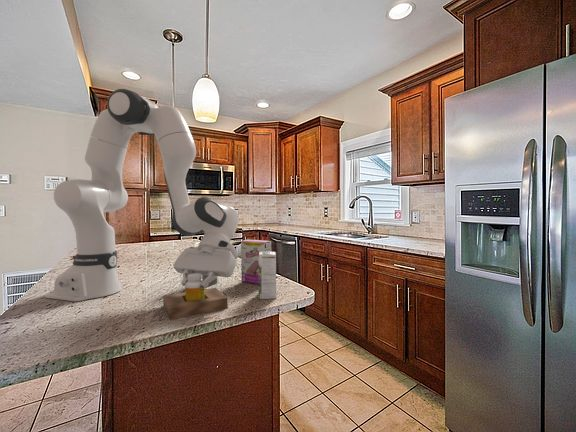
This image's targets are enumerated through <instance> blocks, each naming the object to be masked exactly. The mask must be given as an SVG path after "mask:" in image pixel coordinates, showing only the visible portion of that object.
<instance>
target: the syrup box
mask: <svg viewBox="0 0 576 432" xmlns="http://www.w3.org/2000/svg"><path fill="white" fill-rule="evenodd" d="M257 285H258V289H257V290H258V291H257V292H258V293H257V295H258V300H268V299H269V300H270V299H271V300H272V299H273V300H274V299H275V300H276V298H277V252H276V251H271V252H270V251H265V252H259V267H258V284H257Z"/></svg>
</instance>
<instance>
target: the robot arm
mask: <svg viewBox="0 0 576 432" xmlns="http://www.w3.org/2000/svg"><path fill="white" fill-rule="evenodd" d="M106 108H107V109H104V110H102V111H101V112H100V113H99V114H98V116H97V118H96V120H95V123H94V124H93V127H92V130H91V133H90V138H89V140H88V144H87V148H86V151H85V156H84V161H85V162H86V164H87V166H88V167H89V168H90V170H91V179H80V178H78V179H69V180H63V181H61V182H60V183H58V184H57V185H56V187H55V188H54V191H53V200H54V203H55V204H56V206H57V208H59V210H61V211H63V212H64V213H65V214H66V215H67V216H68V218H69V219H70V222H71V224H72V225H73V228H74V231H75V238H76V240H75V241H76V254H75V255H72V256H70V259H69V261H73V262H72V265H71V266H69V267H68V268H67V269H66V270H65V271H63V272H62V273H61V274H60V275H59V274H58V276H57V277H56V278H55V280H54V285H53V287H54V288H53V289H54V290H51V291H49V292H47V293H46V294H45V296H44V298H45V299H53V300H54V299H55V300H62V301H69V302H70V301H71V302H81V301H85V300H89V299H96V298H102V297H106V296H107V297H108V296H110V295H114V294H115V293H119V292H120V291H122V289H123V287H122V285H121V281H120V277H119V273H118V265H117V264H118V251H117V250H116V233H115V232H116V231H115V229H114V227H113V225H110V224H109V223H108V221H107V220H106V216H105V214H104V213H112V212H115V211H118V210H121V209H123V208H124V207H125V206H126V205H127V204H128V201H129V194H128V192H127V190H126V188H125V187H124V183H123V169H124V164H125V159H126V156H127V151H128V147H129V144H130V140H131V138H132V136H133V135H134V134H138V135H140V136H155V137H154V138H155V140H156V142H157V145H158V148H159V151H160V152H159V153H160V154H161V159H162V165H163V176H164V177H163V178H164V182H165V186H166V189H167V195H168V197H169V201H170V204H171V209H172V217H171V218H172V219H171V221H172V226H173V227H174V230H175V231H177V233H179V234H180V235H182V236H185V237H192V236H195V235H196V234H198V233H199V232H201V231H203V236H202V238H201V240H200V242H199V244H198V246H196V247H193V246H189V247H188V248H185V249H184V250H183V251H182V252H181V253H180V254H179V255H178V257H177V258H176V259H175V261H174V263H173V269H174V270H175V271H176V272H177V273H179V274H182V280H181V282H180V284H181V285H182V286H183V287H185V285H186V283H187V282H188V275H189V274H193V273H200V274H202V275H207V276H208V277H207V278H206V279H205V280H202V279H201V283H200V287H201V288H204V289H208V286H209V285H208V284H209V283H210V282H212V281H213V280H214V279H215V277H216V276H217V278H218V277H220V278H230V277H231V276H233V274H234V272H235V268H236V265H237V259H238V258H239V253H238V251H237V249H236V248H235V246H234V245H233V244H232V242H230V241H231V240H232V239H233V237H234V235H235V233H236V232H237V229H238V225H239V220H240V218H239V213H238V211H237V210H236V209H235V208H233V207H232V206H230V205H222V204H219V203H217V201H215V200H214V199H212V198H210V197H207V196H201V197H199V198H197V199H195V200H194V201H192V202H191V201H190V197H189V194H188V188H187V185H186V178H187V174H188V172H189V169H190V168H191V166H192V164H193V162H194V161H195V159H196V155H197V148H196V143H195V140H194V138H193V135H192V132H191V130H190V128H189V125H188V124H187V122H186V119H185V118H184V116H183V114H182V112H180V110H179V109H178V108H177V107H174V106H172V105H162V106H159V105H157V104H156V103H155V102H154V101H152V100H150V99H149V98H147V97H144V96H143V95H140V94H138V93H137V92H135V91H133V90H131V89H127V88H118V89H115V90H113V91H112V92H111V93H110V94H109V96H108V97H107V102H106ZM204 233H205V234H204Z"/></svg>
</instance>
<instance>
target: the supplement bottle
mask: <svg viewBox="0 0 576 432" xmlns="http://www.w3.org/2000/svg"><path fill="white" fill-rule="evenodd" d="M201 281H202V274H200V273H193V274H189V275H188V282H187V283H186V285H185V286H184V287H185V288H184V289H185V292H184V293H185V294H186V302H190V301H195V300H201V299H205V292H204V289H205V288H201V287H200V283H201Z"/></svg>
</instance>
